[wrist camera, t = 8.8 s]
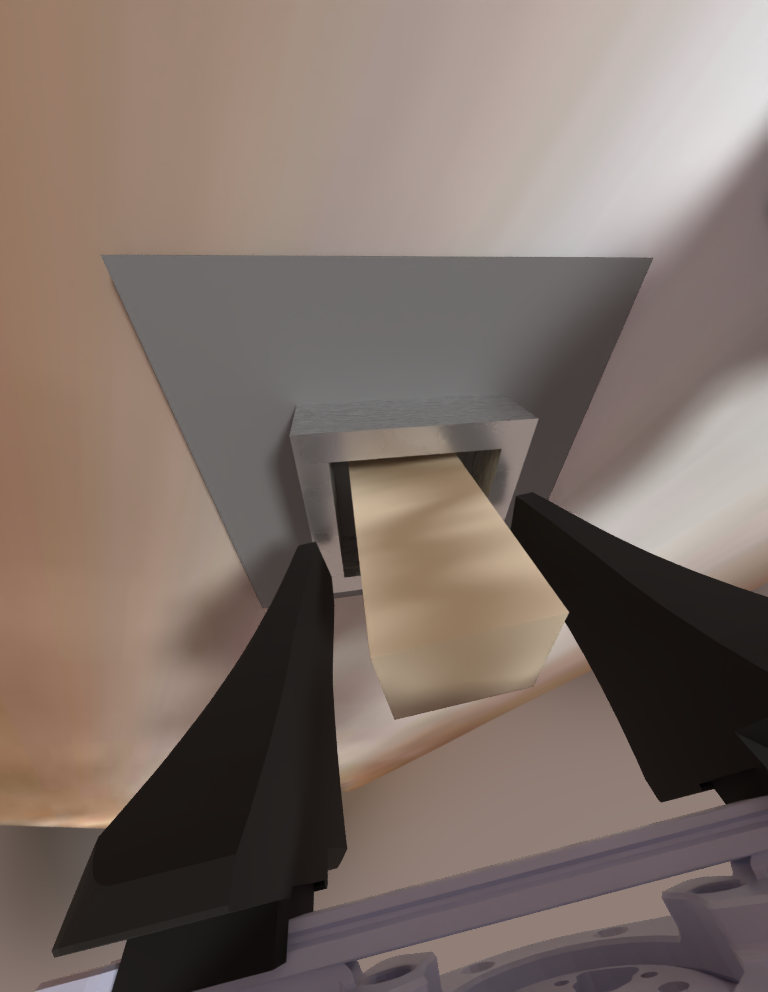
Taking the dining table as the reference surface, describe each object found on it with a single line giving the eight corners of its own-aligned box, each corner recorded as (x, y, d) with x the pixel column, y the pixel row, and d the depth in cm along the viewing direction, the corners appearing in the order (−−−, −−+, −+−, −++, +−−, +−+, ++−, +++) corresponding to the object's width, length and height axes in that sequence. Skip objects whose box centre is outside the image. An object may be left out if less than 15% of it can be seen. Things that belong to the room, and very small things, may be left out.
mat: (637, 258, 10) (653, 257, 9) (511, 566, 19) (516, 573, 19) (114, 256, 8) (100, 254, 7) (264, 599, 18) (262, 607, 17)
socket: (501, 393, 11) (538, 418, 9) (467, 535, 16) (486, 572, 14) (296, 404, 10) (289, 435, 8) (324, 552, 15) (323, 594, 13)
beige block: (442, 435, 12) (569, 612, 6) (443, 507, 14) (532, 686, 8) (347, 454, 12) (370, 657, 6) (364, 524, 14) (394, 719, 8)
